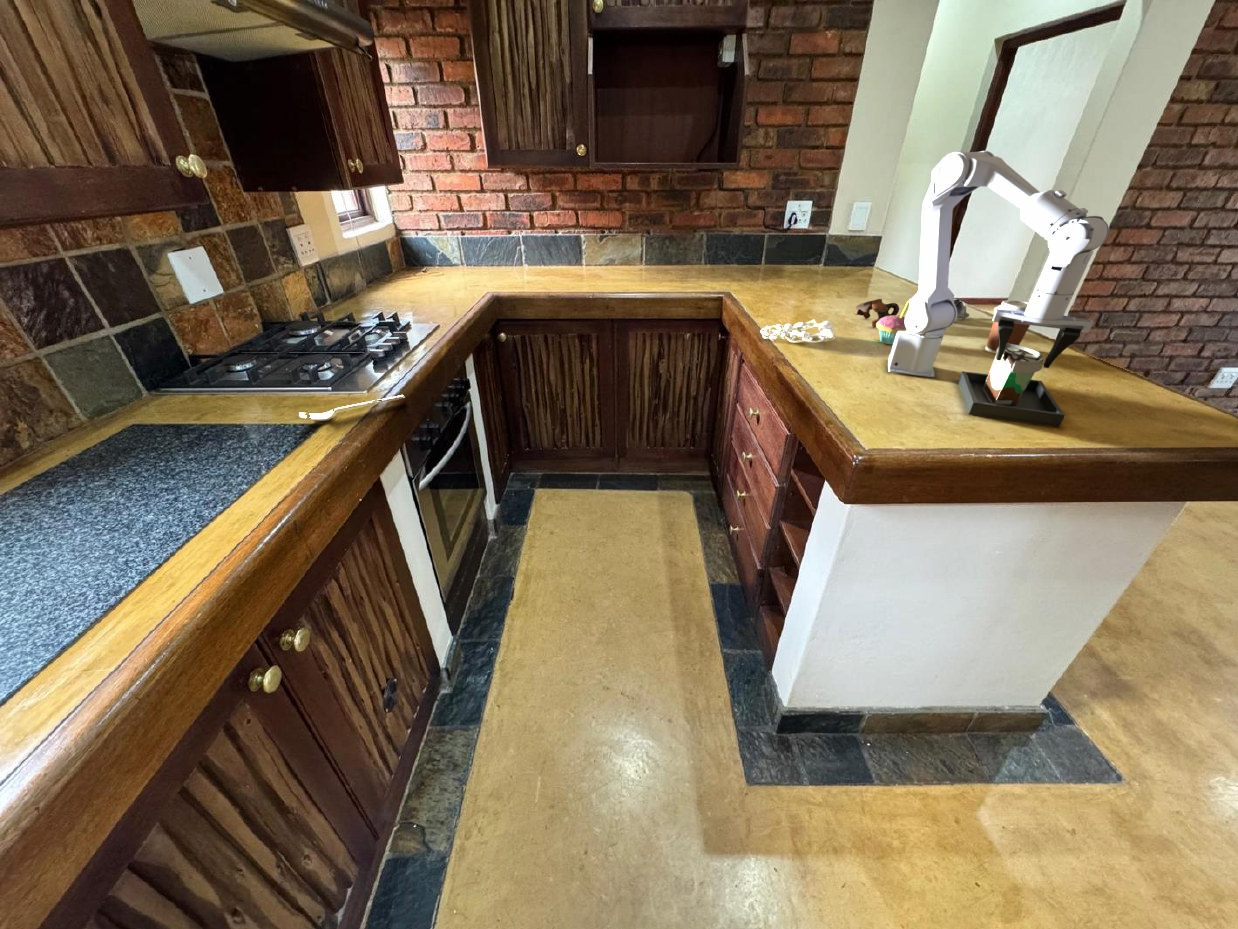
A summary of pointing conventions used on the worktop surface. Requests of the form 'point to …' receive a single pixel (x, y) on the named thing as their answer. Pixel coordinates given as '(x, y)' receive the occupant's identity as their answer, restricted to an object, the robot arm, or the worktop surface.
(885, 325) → the cupcake
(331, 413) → the fork
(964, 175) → the robot arm
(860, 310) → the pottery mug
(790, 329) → the tangled rod sculpture
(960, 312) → the snack package
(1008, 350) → the food container
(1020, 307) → the coffee cup
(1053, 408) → the tray
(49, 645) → the worktop surface
